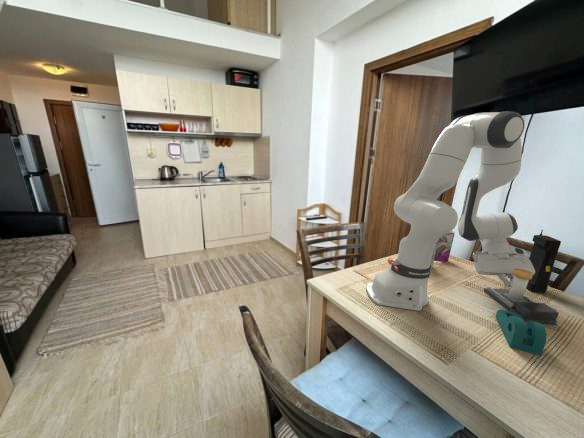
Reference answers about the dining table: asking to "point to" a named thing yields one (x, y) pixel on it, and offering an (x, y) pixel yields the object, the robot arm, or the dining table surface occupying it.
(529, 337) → the bracket
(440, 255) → the wafer cookie box
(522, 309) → the mount
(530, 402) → the dining table surface
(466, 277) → the dining table surface
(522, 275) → the knob
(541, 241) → the portable radio
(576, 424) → the dining table surface
